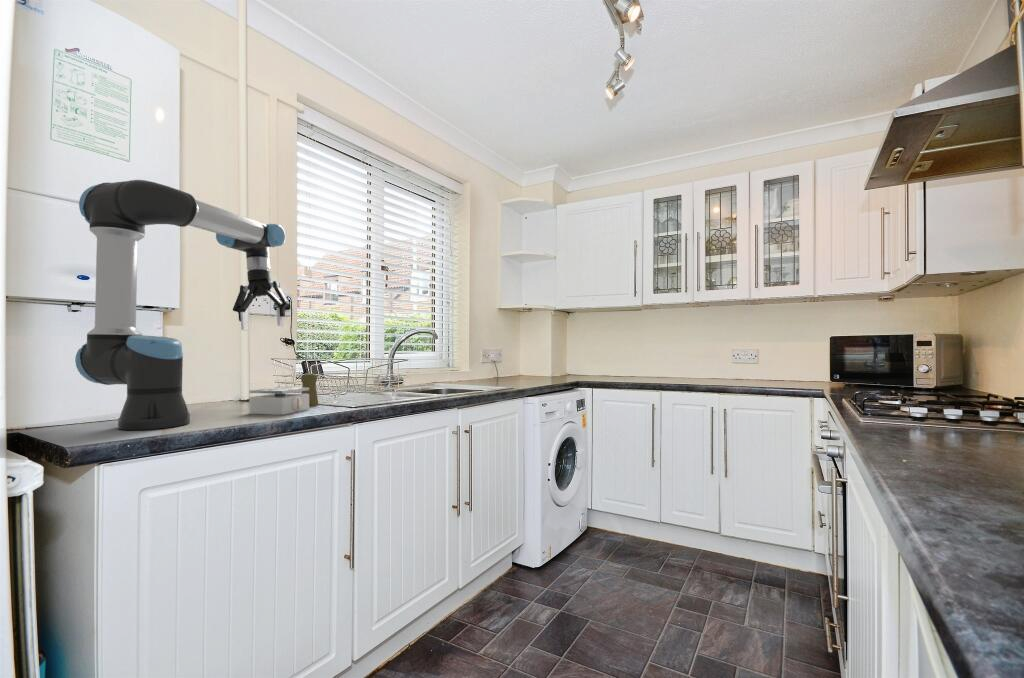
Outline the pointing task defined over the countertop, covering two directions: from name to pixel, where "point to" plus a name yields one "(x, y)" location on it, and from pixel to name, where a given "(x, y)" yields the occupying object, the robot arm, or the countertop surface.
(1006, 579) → the countertop surface
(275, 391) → the scale pan
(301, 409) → the kitchen scale
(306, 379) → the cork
